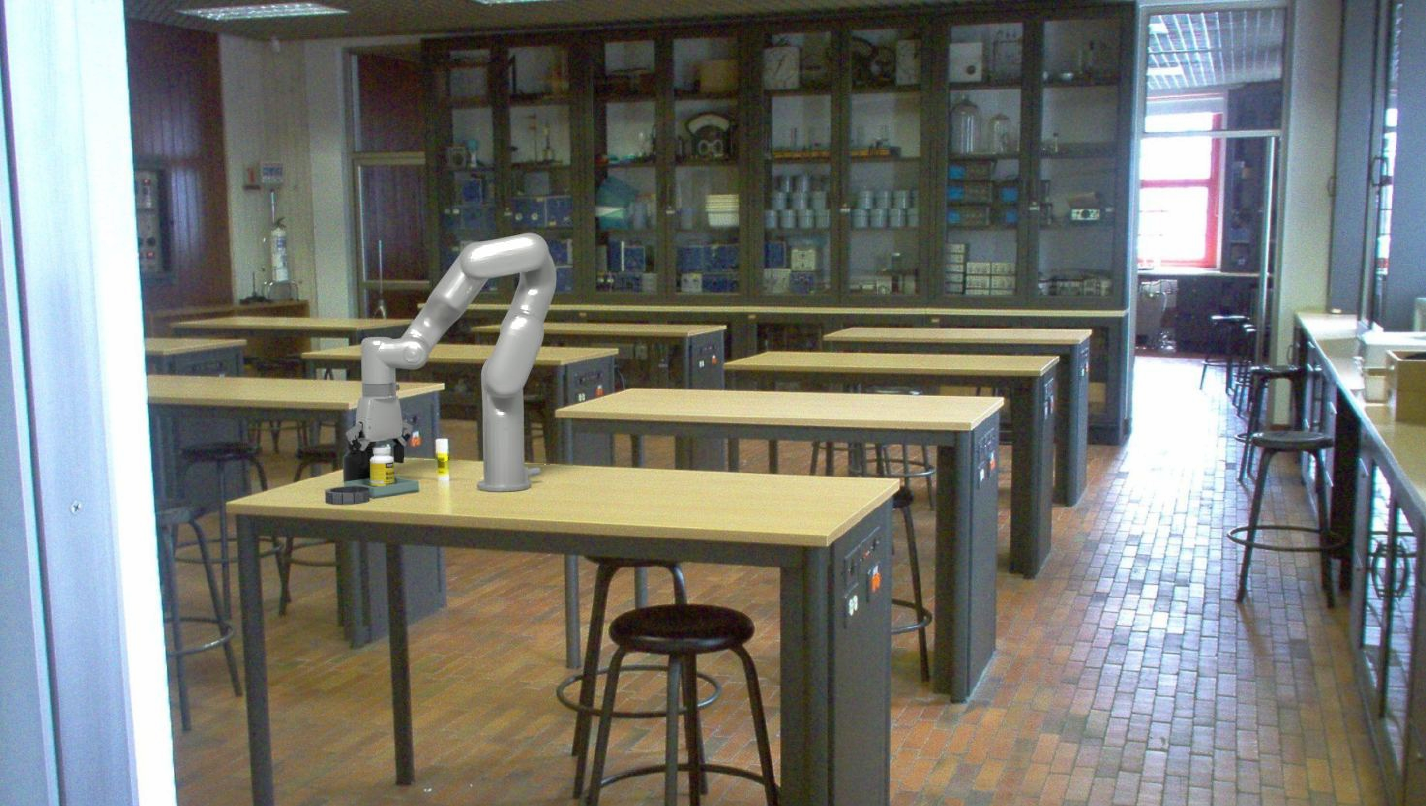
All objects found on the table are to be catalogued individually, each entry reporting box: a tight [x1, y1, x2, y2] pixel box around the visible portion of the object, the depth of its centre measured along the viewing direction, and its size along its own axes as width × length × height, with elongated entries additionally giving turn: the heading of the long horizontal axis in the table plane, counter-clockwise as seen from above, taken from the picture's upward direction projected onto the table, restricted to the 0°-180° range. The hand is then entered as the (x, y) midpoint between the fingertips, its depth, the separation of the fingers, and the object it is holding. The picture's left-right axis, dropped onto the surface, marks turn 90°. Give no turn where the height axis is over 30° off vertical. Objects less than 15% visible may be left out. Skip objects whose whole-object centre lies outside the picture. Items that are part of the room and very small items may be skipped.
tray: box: [343, 476, 420, 500], centre depth 305 cm, size 12×12×2 cm
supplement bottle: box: [370, 445, 395, 487], centre depth 304 cm, size 5×5×10 cm
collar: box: [324, 486, 371, 506], centre depth 293 cm, size 9×9×2 cm
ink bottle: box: [342, 434, 377, 483], centre depth 316 cm, size 10×9×12 cm
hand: (380, 465), depth 304 cm, fingers open, 9 cm apart
